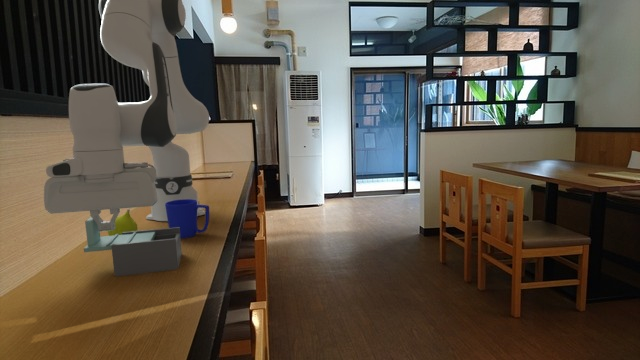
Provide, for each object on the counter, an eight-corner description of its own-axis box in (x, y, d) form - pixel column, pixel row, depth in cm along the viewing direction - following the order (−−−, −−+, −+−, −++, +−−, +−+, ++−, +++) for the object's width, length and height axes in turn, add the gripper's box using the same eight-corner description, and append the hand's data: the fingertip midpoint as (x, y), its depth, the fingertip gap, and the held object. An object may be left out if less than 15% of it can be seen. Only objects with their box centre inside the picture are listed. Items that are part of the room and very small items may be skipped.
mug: (202, 243, 99) (200, 205, 97) (161, 241, 101) (158, 204, 100) (217, 234, 107) (215, 199, 105) (178, 232, 109) (176, 198, 108)
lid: (96, 240, 82) (93, 214, 81) (155, 235, 85) (153, 210, 85) (84, 252, 74) (80, 223, 74) (149, 245, 78) (147, 218, 77)
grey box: (125, 262, 85) (122, 232, 84) (182, 256, 89) (179, 227, 88) (115, 279, 76) (111, 245, 75) (178, 272, 79) (175, 239, 78)
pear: (143, 240, 102) (140, 204, 101) (117, 248, 97) (113, 209, 95) (130, 236, 106) (126, 202, 105) (104, 243, 101) (100, 206, 99)
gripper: (157, 160, 83) (162, 222, 85) (49, 165, 77) (57, 231, 79) (153, 163, 77) (158, 229, 79) (35, 168, 71) (45, 239, 73)
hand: (107, 230), depth 79 cm, fingers closed
